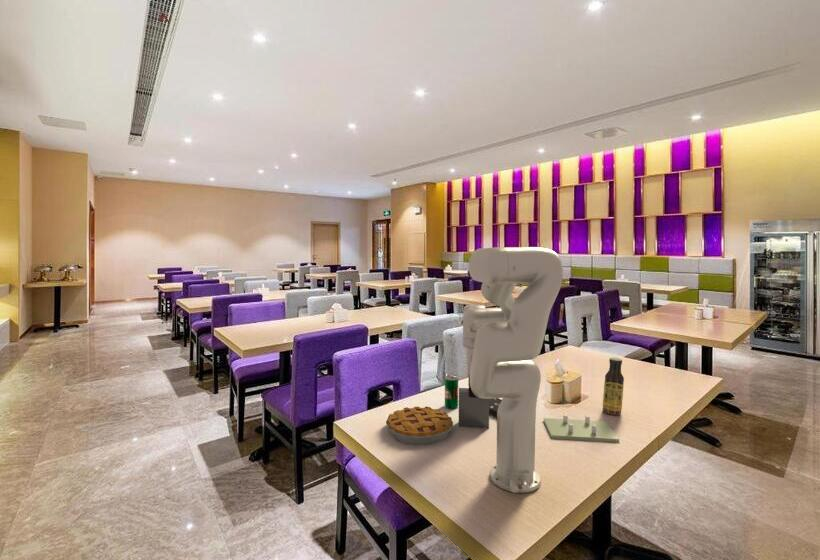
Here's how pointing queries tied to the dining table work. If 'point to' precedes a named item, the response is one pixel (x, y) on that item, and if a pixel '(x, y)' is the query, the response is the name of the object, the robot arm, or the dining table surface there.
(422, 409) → the pie
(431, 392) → the dining table surface
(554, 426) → the dock
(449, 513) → the dining table surface
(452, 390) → the soda can
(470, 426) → the dark grey thick block
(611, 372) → the sauce bottle
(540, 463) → the dining table surface
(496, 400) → the disk drive
